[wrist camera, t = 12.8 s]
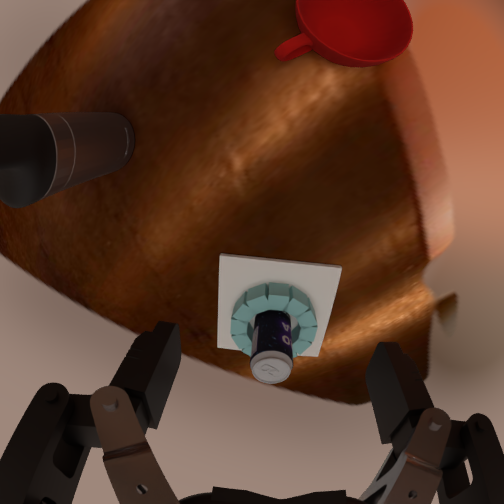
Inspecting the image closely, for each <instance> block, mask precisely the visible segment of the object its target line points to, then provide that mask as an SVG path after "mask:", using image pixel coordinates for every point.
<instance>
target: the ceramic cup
mask: <svg viewBox="0 0 504 504" xmlns="http://www.w3.org/2000/svg"><path fill="white" fill-rule="evenodd" d="M296 18H297V23H298V27H299V29H300V31H301V34H300V35H297V36H295V37H293V38H291V39H289V40H287V41H285V42H284V43H282V44H281V45H280V46H278V47H277V48H276V50H275V52H274V54H275V56H276V57H277V59H278V60H280V61H288V60H291V59H293V58H296V57H298V56H300V55H302V54H304V53H307V52H309V51H311V50H314V51H315V52H317V53H318V54H319V55H321V56H322V57H323V58H325V59H327V60H329V61H331V62H333V63H336V64H339V65H343V66H348V67H368V66H374V65H378V64H381V63H384V62H387V61H389V60H392V59H394V58H395V57H397V56H399V55H400V54H402V53H403V51H404V50H405V49H406V48H407V47H408V45H409V43H410V41H411V39H412V34H413V22H412V18H411V14H410V12H409V10H408V7H407V5H406V3H405V2H404V1H403V0H296Z"/></svg>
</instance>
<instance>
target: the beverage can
mask: <svg viewBox="0 0 504 504" xmlns="http://www.w3.org/2000/svg"><path fill="white" fill-rule="evenodd" d="M250 367H251V369H252V373H253V375H254V377H255V378H256V379H258V380H259V381H261V382H264V383H279V382H282V381H284V380H285V379H286V378H288V376H289V375H290V371H291V370H292V368H293V350H292V333H291V319H290V315H289V314H288V313H287V312H285V311H280V310H267V311H264V312H261V313H258V314H256V316H255V321H254V331H253V340H252V349H251V358H250Z"/></svg>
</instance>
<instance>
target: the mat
mask: <svg viewBox="0 0 504 504" xmlns="http://www.w3.org/2000/svg"><path fill="white" fill-rule="evenodd" d="M341 270H342V267H341V266H339V265H329V264H319V263H309V262H300V261H290V260H280V259H271V258H261V257H251V256H242V255H232V254H223V253H221V254H220V265H219V297H218V347H219V348H226V349H234V350H242V349H239V348H238V347H237V345H236V344H235V342H234V341H233V339H232V338H231V335H232V334H230V329H231V317H232V313H233V308H234V306H235V303H236V302H237V300H238V299H239V298H240V297H241V296H242V294H243V293H244V292H245V291H246V292H248V289H250V288H252V287H255V286H258V285H261V284H263V283H266V284H267V286H268V288H269V282H273V283H283V284H289V288H290V287H291V286H292V285H293V286H294V287H296V288H297V289H299V290H300V291H302V292H303V293H305V294H306V295H307V298H308V297H309V299H310V301H311V303H312V306H313V308H314V310H315V314H316V320H317V327H318V328H317V332H316V335H315V339H314V342H312V345H311V346H310V347H309V348H307V349H306V350H305V351H304V352H303V353H302V354H301V355H299V354H298V353H297V355H298V356H316V357H318V354H319V351H320V348H321V345H322V341H323V338H324V334H325V331H326V328H327V324H328V321H329V317H330V313H331V310H332V306H333V302H334V298H335V295H336V291H337V287H338V283H339V279H340V275H341ZM288 314H289V313H288ZM289 315H290V314H289ZM255 316H256V315H255ZM255 316H254V317H253V318H252V319H251V320H250V321H249V322H250V324H251V326H252V327H253V329H254V321H255ZM290 319H291V331H292V330H293V329H294V328H295V327H296V326H297V324H298V321H297V319H296V318H295V317H294V316H292V315H290Z"/></svg>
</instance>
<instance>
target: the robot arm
mask: <svg viewBox="0 0 504 504" xmlns="http://www.w3.org/2000/svg"><path fill="white" fill-rule="evenodd" d="M134 143H135V139H134V132H133V128H132V126H131V124H130V123H129V121H128V120H127V119H126V118H125V117H124V116H122V115H120V114H118V113H111V112H63V113H45V114H29V115H10V114H0V199H1V200H2V201H3V202H4V203H5V204H6V205H8V206H10V207H13V208H22V207H25V206H28V205H30V204H32V203H35V202H37V201H39V200H41V199H44V198H46V197H48V196H51V195H53V194H55V193H57V192H60V191H62V190H65V189H67V188H70V187H72V186H75V185H78V184H80V183H83V182H86V181H88V180H91V179H94V178H97V177H99V176H103V175H105V174H108V173H111V172H114V171H117V170H119V169H121V168H122V167H123V166H124V165H125V164H126V163H127V162H128V161H129V159H130V157H131V155H132V153H133V149H134ZM180 361H181V344H180V333H179V325H178V324H177V323H171V322H165V321H159V322H158V323H157V325H156V327H155V328H154V330H153V332H148V331H145V332H143V333H142V334H141V335H139V336H138V337H137V338H136V339H135V340H134V343H133V344H132V346H131V348H130V350H129V351H128V353H127V354H126V357H125V358H124V360H123V361H122V363H121V365H120V367H119V368H118V370H117V372H116V374H115V376H114V378H113V379H112V381H111V383H110V385H109V386H105V387H102V388H100V389H98V390H96V391H95V392H94V393H93V394H92V395H79V394H69V392H68V391H67V389H66V388H65V387H64V386H63V385H61V384H59V383H48V384H45V385H43V386H42V387H41V388H40V389H39V390H38V391H37V393H36V395H35V396H34V398H33V399H32V401H31V403H30V405H29V406H28V408H27V410H26V411H25V413H24V415H23V417H22V419H21V420H20V422H19V424H18V426H17V428H16V430H15V432H14V433H13V435H12V437H11V439H10V441H9V443H8V445H7V447H6V449H5V451H4V453H3V456H2V457H1V459H0V504H72V501H73V498H74V495H75V492H76V488H77V485H78V483H79V480H80V477H81V474H82V471H83V468H84V466H85V463H86V460H87V457H88V455H89V452H90V449H91V447H97V448H102V449H103V452H104V456H103V462H104V465H105V468H106V471H107V474H108V476H109V479H110V482H111V484H112V487H113V489H114V491H115V494H116V496H117V498H118V501H119V503H120V504H431V502H432V500H433V497H434V495H435V493H436V491H437V492H438V498H439V503H440V504H504V454H503V451H502V448H501V446H500V443H499V440H498V437H497V435H496V432H495V430H494V427H493V425H492V423H491V421H490V419H489V418H488V417H487V416H485V415H483V414H480V413H476V414H473V415H472V416H471V417H470V418H469V419H468V420H467V421H466V422H465V421H456V420H450V417H449V416H448V414H447V413H446V412H444V411H443V410H441V409H439V408H435V407H434V405H433V403H432V400H431V398H430V395H429V393H428V391H427V389H426V386H425V384H424V382H423V381H422V377H421V375H420V373H419V371H418V368H417V366H416V364H415V362H414V361H413V360H412V359H411V358H410V357H409V356H408V355H407V354H403V352H402V350H401V348H400V346H399V344H398V343H397V342H380V343H378V345H377V347H376V349H375V352H374V354H373V356H372V358H371V360H370V363H369V365H368V367H367V370H366V384H367V387H368V391H369V395H370V398H371V402H372V406H373V410H374V414H375V418H376V422H377V426H378V430H379V434H380V439H381V443H382V444H388V443H392V446H393V448H392V449H391V451H390V452H389V454H388V456H387V458H386V460H385V461H384V463H383V465H382V466H381V468H380V470H379V472H378V473H377V475H376V477H375V478H374V480H373V481H372V483H371V485H370V486H369V487H368V488H367V490H366V491H365V492H364V493H363V494H362V495H361V497H360V498H359V499H356V498H352V497H347V496H346V490H338V491H325V492H313V493H309V494H305V495H301V496H296V497H292V498H287V499H276V498H272V497H268V496H264V495H260V494H257V493H254V492H250V491H247V490H238V489H229V488H221V487H213V490H212V492H210V493H201V494H196V495H192V496H188V497H186V498H183V499H181V500H179V501H178V499H177V497H176V496H175V494H174V492H173V491H172V489H171V487H170V485H169V483H168V482H167V480H166V478H165V476H164V475H163V472H162V470H161V468H160V467H159V465H158V463H157V461H156V459H155V457H154V454H153V452H152V450H151V448H150V446H149V444H148V442H147V440H146V438H145V434H146V431H147V428H148V427H149V428H154V429H157V427H158V424H159V421H160V418H161V416H162V413H163V410H164V407H165V404H166V401H167V398H168V396H169V393H170V390H171V387H172V385H173V382H174V379H175V376H176V374H177V371H178V368H179V365H180ZM467 459H468V460H469V464H470V467H471V471H472V475H473V481H472V484H471V485H470V482H469V478H468V474H467V470H466V467H465V463H464V461H465V460H467Z"/></svg>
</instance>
